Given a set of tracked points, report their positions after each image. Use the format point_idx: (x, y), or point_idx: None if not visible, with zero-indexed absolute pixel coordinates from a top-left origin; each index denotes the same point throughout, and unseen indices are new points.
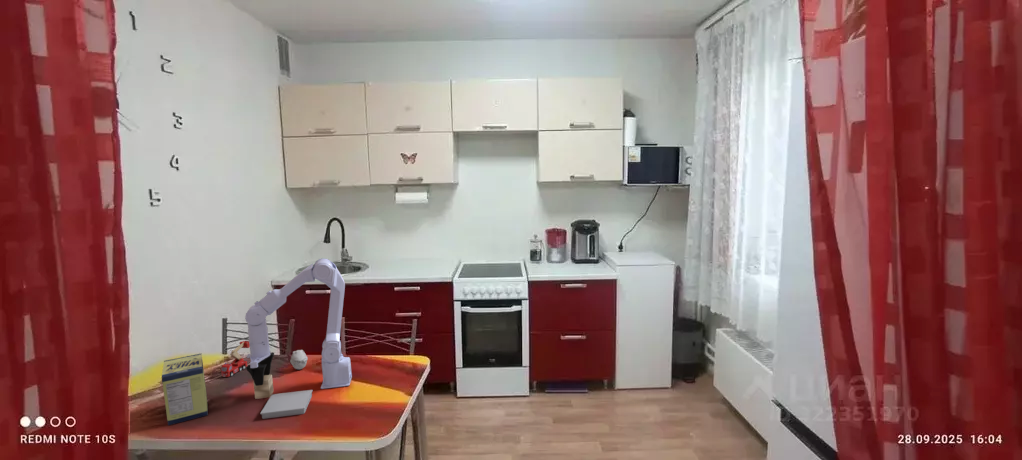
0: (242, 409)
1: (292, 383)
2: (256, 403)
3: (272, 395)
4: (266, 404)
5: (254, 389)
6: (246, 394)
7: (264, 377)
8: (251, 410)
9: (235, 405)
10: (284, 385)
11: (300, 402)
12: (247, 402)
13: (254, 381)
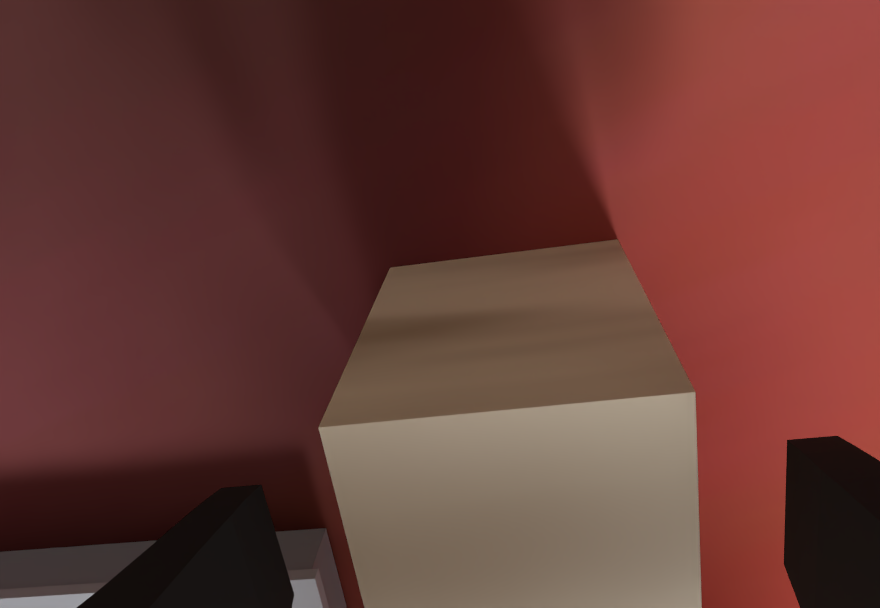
0: (56, 224)
1: None
2: (241, 348)
3: None
4: (16, 605)
5: (363, 339)
6: (593, 21)
7: (564, 578)
8: (44, 364)
9: (170, 32)
10: None
11: None
12: (274, 196)
13: (146, 561)
